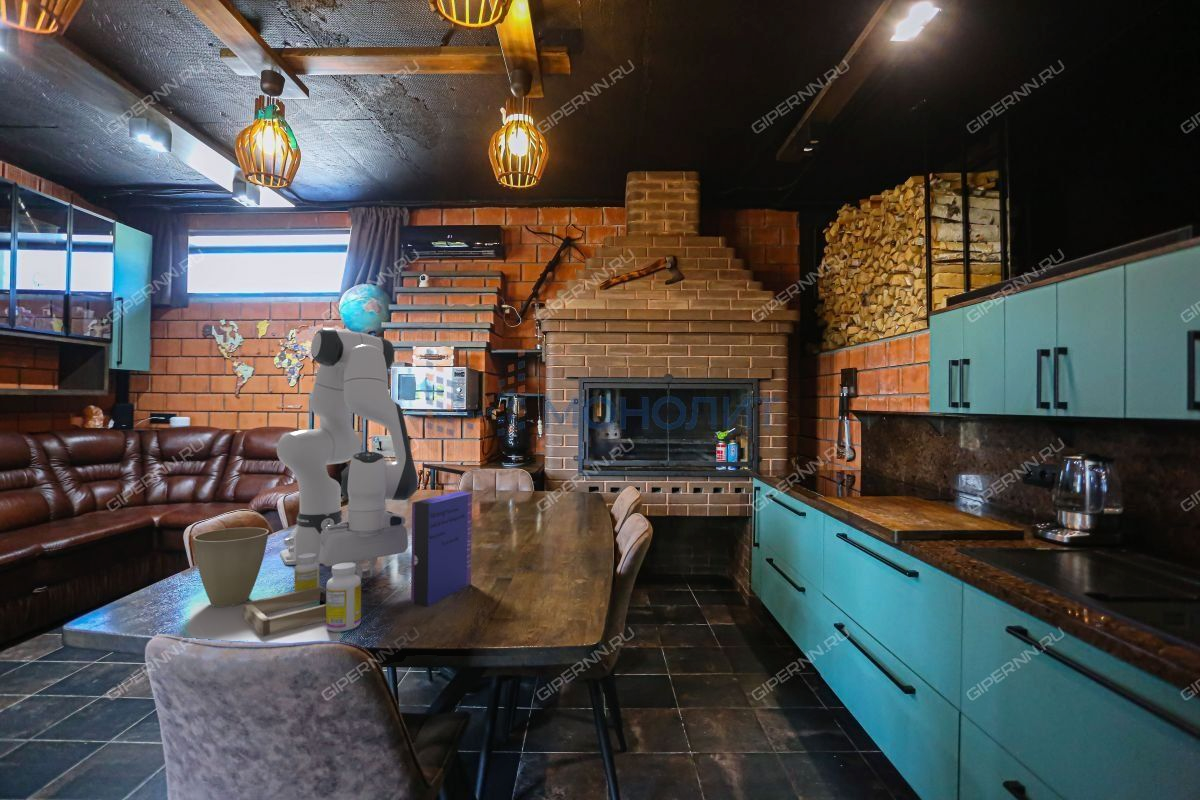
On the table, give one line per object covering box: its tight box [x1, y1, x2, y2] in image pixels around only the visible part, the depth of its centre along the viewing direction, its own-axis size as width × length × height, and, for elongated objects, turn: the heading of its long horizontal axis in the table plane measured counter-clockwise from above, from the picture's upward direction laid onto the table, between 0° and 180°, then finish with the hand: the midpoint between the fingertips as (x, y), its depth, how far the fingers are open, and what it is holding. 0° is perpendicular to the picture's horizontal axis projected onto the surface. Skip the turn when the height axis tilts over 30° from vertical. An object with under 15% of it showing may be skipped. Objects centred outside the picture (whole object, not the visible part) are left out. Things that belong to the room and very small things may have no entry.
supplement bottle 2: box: [325, 562, 362, 633], centre depth 117 cm, size 7×7×13 cm
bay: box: [242, 585, 326, 637], centre depth 123 cm, size 14×16×3 cm
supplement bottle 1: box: [294, 553, 321, 592], centre depth 136 cm, size 5×5×10 cm
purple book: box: [410, 491, 473, 608], centre depth 138 cm, size 17×5×24 cm, turn 159°
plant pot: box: [192, 526, 270, 608], centre depth 132 cm, size 15×15×16 cm
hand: (364, 577), depth 135 cm, fingers closed
